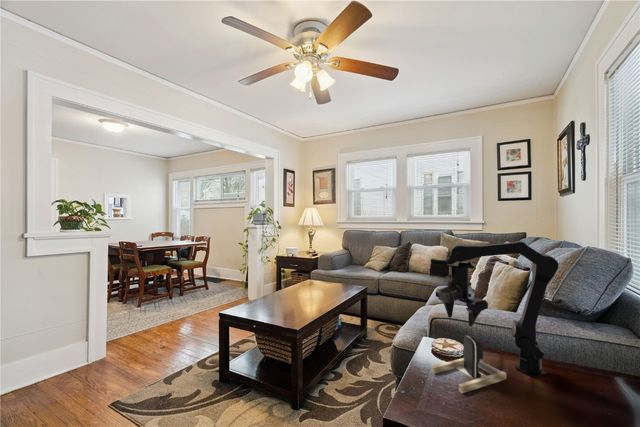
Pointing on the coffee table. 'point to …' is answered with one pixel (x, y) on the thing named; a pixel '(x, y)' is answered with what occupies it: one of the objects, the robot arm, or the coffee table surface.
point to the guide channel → (475, 383)
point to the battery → (472, 355)
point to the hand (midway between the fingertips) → (459, 321)
